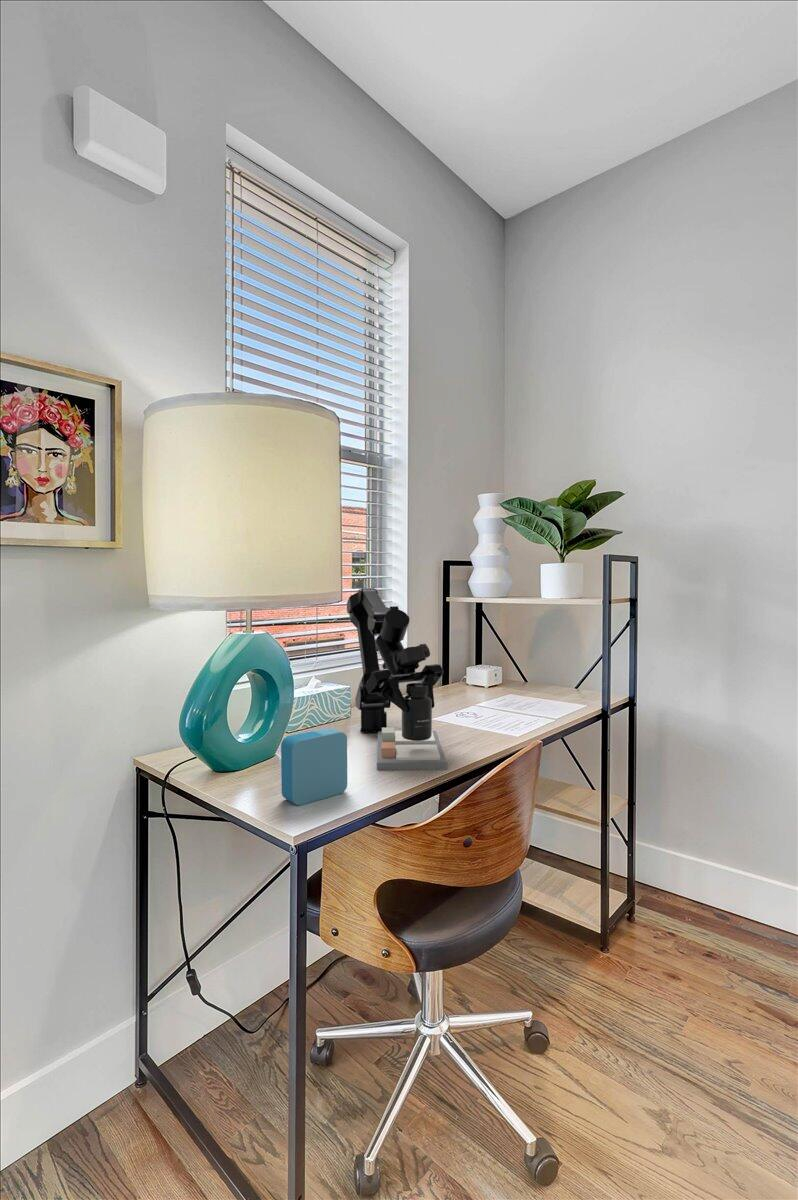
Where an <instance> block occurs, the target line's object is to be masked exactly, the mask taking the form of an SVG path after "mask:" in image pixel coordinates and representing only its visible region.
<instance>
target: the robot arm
mask: <svg viewBox="0 0 798 1200" xmlns="http://www.w3.org/2000/svg"><path fill="white" fill-rule="evenodd" d="M384 603H385V602H383V600H382V598H381V597H380V595H379V592H378V589H377V588H375V587H373V588H372V587H362V588H359V589H358V591H357V592H355V593H354V594H352V595H350V596H349V597H348V598H347V601H346V613H347V614H348V615H349V621H350V622H351V624H352V625H354V627H355V628H356V630H357V637H358V645H359V652H360V660H361V668H362V677H361V679H360V682H359V683H358V687H357V692H356V695H355V698H354V699H355V707H356V708H357V709H358V710H359V711H360V730H359V731H360V733H362V734H366V733H367V734H369V733H371V734H372V733H374V734H378V731H382V728H388V727H387V726H388V725H387V721H388V717H387V716H388V713H387V711H385V709H390V708H391V703H392V704H394V705H395V706H396V707H397V708H398V709H400V710H401V711H402V710H403V711H404V712H405V713H406V712H408V706H407V704H406V701H405V699H404V697H405V696H404V695H403V693H402V691H401V688H400V684H406V683H415V682H416V683H423V684H427V685H428V693H427V696H429V697H430V698H431V700H432V709H434V708H435V698H434V697H435V696H434V687H435V686H436V684H437V683H438V682H439V681H440V679H441V678H442V676H443V675H444V673H445V671H444V669H443V667H442V666H441V664H438V663H437V664H436V663H435V664H426V665H425V666H423V669H422V670H421V671H419V672H417V671H416V670H418V668H419V667H420V663H421V662H423V661H426V660H427V658H429V657H430V656H431V652H430V649H429V647H428V645H427V644H426V643H419V645H417V646H409V647H404V646H403V643H402V641H404V639H405V635H406V633H407V631H408V626H409V623H410V621H411V619H410V616H409V615H408V614H407V613H406V612H405V611H403V610H401V609H400V608H399V606H395V605H394V606H393V605H391V606H389V607H387V606H386V605H385V604H384ZM375 635H376V636H377V635H378V636H377V637H376V636H375ZM378 652H379V655H380V657H381V660H382V661H383V664H382V669H380V664H379V657H378Z"/></svg>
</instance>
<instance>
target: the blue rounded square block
mask: <svg viewBox="0 0 798 1200" xmlns="http://www.w3.org/2000/svg"><path fill="white" fill-rule="evenodd" d="M280 758H281V759H280V761H281V762H280V763H281V764H280V770H281V783H280V784H281V796H282V797H283V798H284V799H285V800H287V801H289V802H291V803H292V804H293V805H296V806H302V805H303V806H304V805H307V804H311V803H313V802H317V801H320V800H324V799H327V798H330V797H335V796H337V795H342V794H344V792H345V791H346V790H347V788H348V737H347V734H346V733H345V732H343V731H341V730H338V729H335V728H331V727H325V728H320V729H316V730H311V731H304V732H301V733H297V734H290V735H287V736H285V737H284V738H283V739H282V741H281V744H280Z"/></svg>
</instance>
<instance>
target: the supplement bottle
mask: <svg viewBox="0 0 798 1200" xmlns="http://www.w3.org/2000/svg"><path fill="white" fill-rule="evenodd" d="M405 693H406V695H405V696H403V697H404V699H405V701H406V704H407V706H408V712H406V713H405V712H404V711H403V710H401V731H402V737H403V738H404V739H407V740H412V741H423V740H427V739H429V738H431V736H432V731H433V728H432V727H433V708H432V700H431V698H430V697H429V696H427V693H428V685H427V684H423V683H418V682H409V683H407V684H406V688H405Z"/></svg>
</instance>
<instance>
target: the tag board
mask: <svg viewBox="0 0 798 1200" xmlns="http://www.w3.org/2000/svg"><path fill="white" fill-rule="evenodd" d="M376 748H377V749H376V751H377V755H376V771H384V770H385V771H388V770H391V771H393V770H395V771H397V770H398V771H399V770H400V771H401V769H406V770H447V769H448V768H447V767H448V766H447V760H446V755H445V753H444V750H443V746H442V745H441V740H440V738H439V735H438V732H437V730H432V736H431V738H429V739H427V740H423V741H412V740H407V739H404V738H403V737H402V730H395V727H387V728H382V731H378V733H377V747H376Z"/></svg>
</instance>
